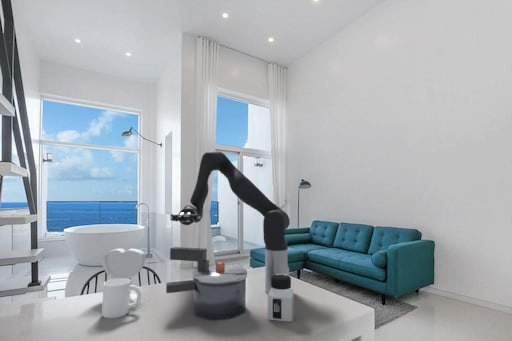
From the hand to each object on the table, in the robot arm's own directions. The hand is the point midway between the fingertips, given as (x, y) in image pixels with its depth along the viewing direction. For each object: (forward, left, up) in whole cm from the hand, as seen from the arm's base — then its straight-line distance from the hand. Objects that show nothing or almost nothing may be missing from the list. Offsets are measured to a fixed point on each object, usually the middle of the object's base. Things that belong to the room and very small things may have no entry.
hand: (182, 219), depth 113 cm
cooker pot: (-1, +18, -30) cm, 35 cm away
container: (-17, +38, -30) cm, 51 cm away
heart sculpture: (+17, -15, -30) cm, 38 cm away
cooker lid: (-2, +16, -19) cm, 25 cm away
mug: (+22, +2, -30) cm, 37 cm away
